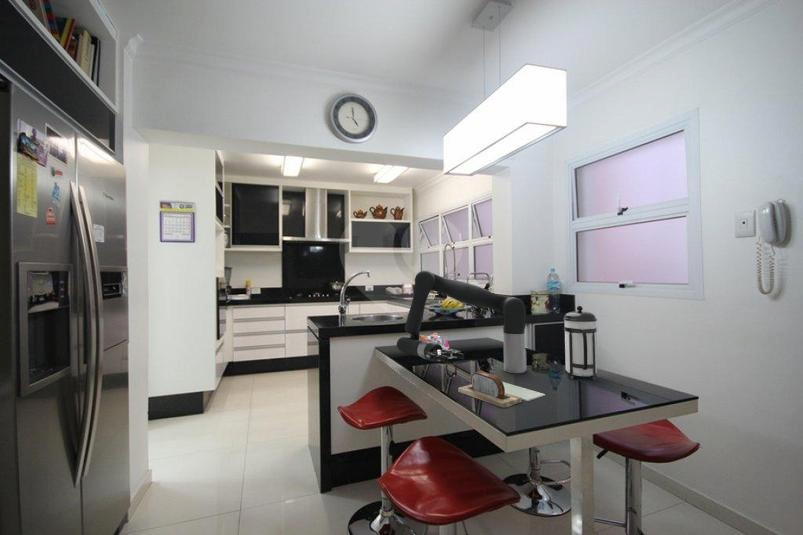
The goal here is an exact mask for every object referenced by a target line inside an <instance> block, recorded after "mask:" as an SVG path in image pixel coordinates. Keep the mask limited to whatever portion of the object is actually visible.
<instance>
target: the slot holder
mask: <svg viewBox="0 0 803 535" xmlns="http://www.w3.org/2000/svg"><path fill="white" fill-rule="evenodd" d="M457 390H458V392H459V393H461V394H463V395H467V396H469V397H471V398H472V397H473V398H475V399H477V400H481V401H483V402H484V403H485V402H486V403H488V404H492V405H493V406H497V407H499V408H503V409H505V408H509V407H511V406H514V405H517V404H520V403H522V398H521V397H518V396H515V395H511V394H508V393H505V394H504V397H503V398H502V399H498V398H495V397H492V396H489V395H486V394H483V393H480V392H478V391H475V390H474V389H473V388H472V384H468V385H464V386H460V387H458V389H457Z"/></svg>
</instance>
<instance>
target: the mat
mask: <svg viewBox="0 0 803 535" xmlns="http://www.w3.org/2000/svg"><path fill="white" fill-rule="evenodd" d="M502 382H503V385H504V388H505V393H508V394H511V395H515V396H518V397H521V398H522V400H523V401H525V402H530V401H534V400H536V399H539V398H542V397H545V396H546V394H545V393H542V392H538V391H535V390H532V389H528V388H524V387H522V386H518V385H514V384H511V383H508V382H504V381H502Z"/></svg>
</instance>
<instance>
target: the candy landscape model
mask: <svg viewBox="0 0 803 535" xmlns="http://www.w3.org/2000/svg"><path fill="white" fill-rule="evenodd" d="M419 340H421V341H425V342H432V343H436V344H439V345H441V346H442V348H443V349H446V350H449V349H451V348H450V347H451V346H450V344H449V342H448V339H447V337H446V336H443V337H442V338H441V336H440V334H439V335H438V332H433V333H432V334H430V335H429V336H427V335H422V334H419Z"/></svg>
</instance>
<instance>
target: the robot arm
mask: <svg viewBox="0 0 803 535" xmlns="http://www.w3.org/2000/svg"><path fill="white" fill-rule="evenodd" d="M413 290H414V291H413V297H412V300H411V304H410V307H409V311H408V314H407V317H406V322H405V325H404V330H405V332H406V333H408V334H409V335H410V336H409V337H407V336H402V337H399V338H398V340H397V342H396V349H397V350H398V351H399V352H400V353H404V354H409V355H414V356H417V357H420V358H422V359H424V360H428V361H431V362H435V363H436V362H444V363H448V362H449V359H450V360H451V359H459V360H465V354H464V353H462V352H461V350H458V349H454V348H449V349H448V350H446V349H443V348H442V346H441V345H439V344H436V343H432V342H425V341H421V340H420V338H419V336H420V329H421V327H422V324H423V323H422V322H423V318H424V314H425V308H426V302H427V300H428V297H429V296H430V292H431V291H432V292H436V293H440V294H443V295H445V296H447V297H449V298H452V299H453V300H456V301H458V302H461V303H464V304H467V305H471V306H476V307H480V308H488V309H491V310H493V311H496V312H500V313H502V314H504V316H503V317H504V320H503V321H504V324H503V327H502V328H503V329H502V330H503V333H502V334H503V336H502V337H503V371H504V372H507V373H511V374H523V373H525V372H526V371H527V349H526V342H525V340H526V338H525V332H526V331H525V329H526V317H527V316H526V314H527V312H526V305H525V303H524V301H522V299H520V298H517V297H513V296H508V295H502V294H499V293H495V292H491V291H489V290H488V289H486V288H483V287H481V286H478V285H475V284H472V283H469V282H465V281H461V280H456V279H451V278H446V277H443V276H440V275H438V274H435V273H433V272H431V271H430V270H421V271H419V272H417V274H416V275H415V278H414V289H413Z"/></svg>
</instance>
